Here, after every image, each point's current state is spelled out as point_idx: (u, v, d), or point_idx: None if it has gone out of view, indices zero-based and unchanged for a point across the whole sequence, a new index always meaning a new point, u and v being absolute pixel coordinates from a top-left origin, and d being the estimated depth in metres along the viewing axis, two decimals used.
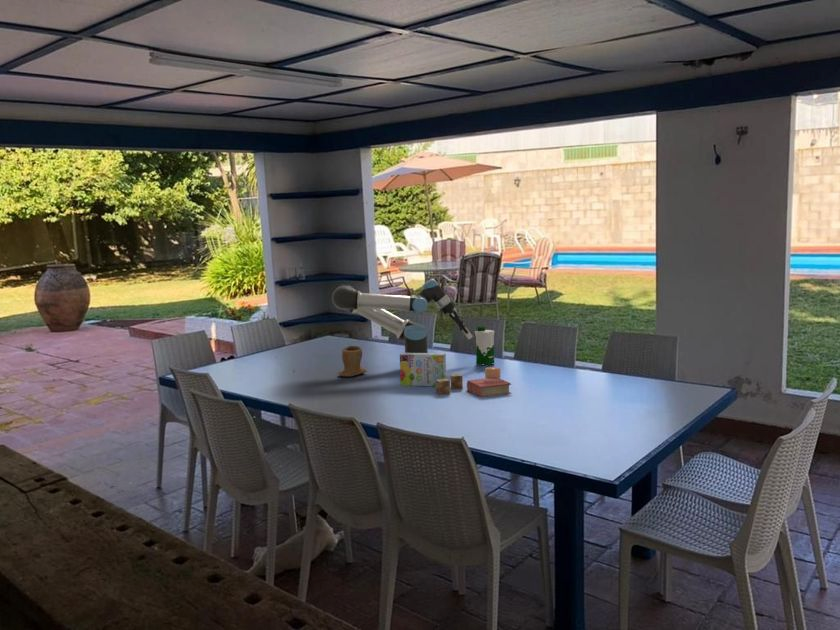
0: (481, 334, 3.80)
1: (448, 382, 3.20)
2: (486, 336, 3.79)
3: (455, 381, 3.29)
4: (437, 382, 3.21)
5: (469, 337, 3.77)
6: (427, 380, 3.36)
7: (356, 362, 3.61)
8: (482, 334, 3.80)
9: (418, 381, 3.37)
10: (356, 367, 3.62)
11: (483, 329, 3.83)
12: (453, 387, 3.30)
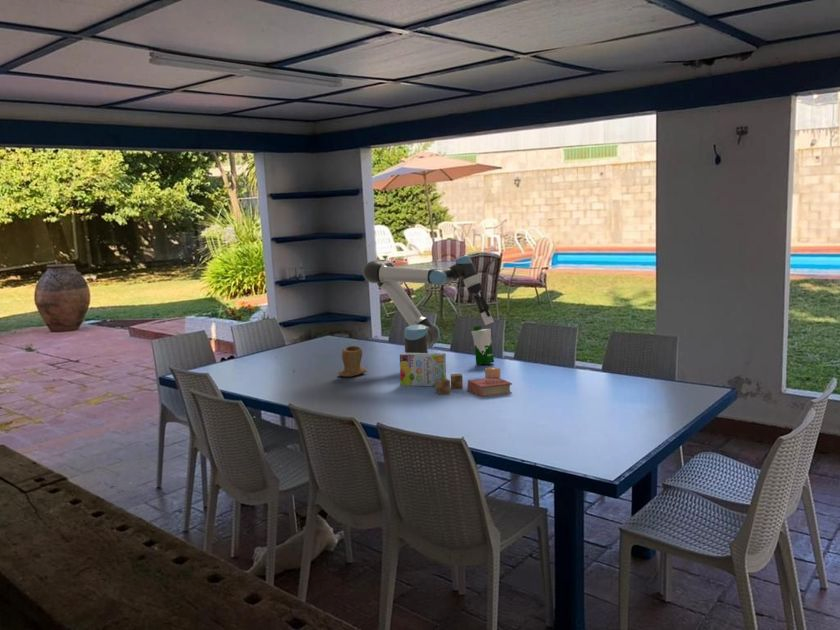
0: (478, 333, 3.81)
1: (448, 382, 3.20)
2: (483, 334, 3.80)
3: (455, 381, 3.29)
4: (437, 382, 3.21)
5: (490, 321, 3.60)
6: (427, 380, 3.36)
7: (356, 362, 3.61)
8: (478, 333, 3.81)
9: (418, 381, 3.37)
10: (356, 367, 3.62)
11: (479, 328, 3.84)
12: (453, 387, 3.30)
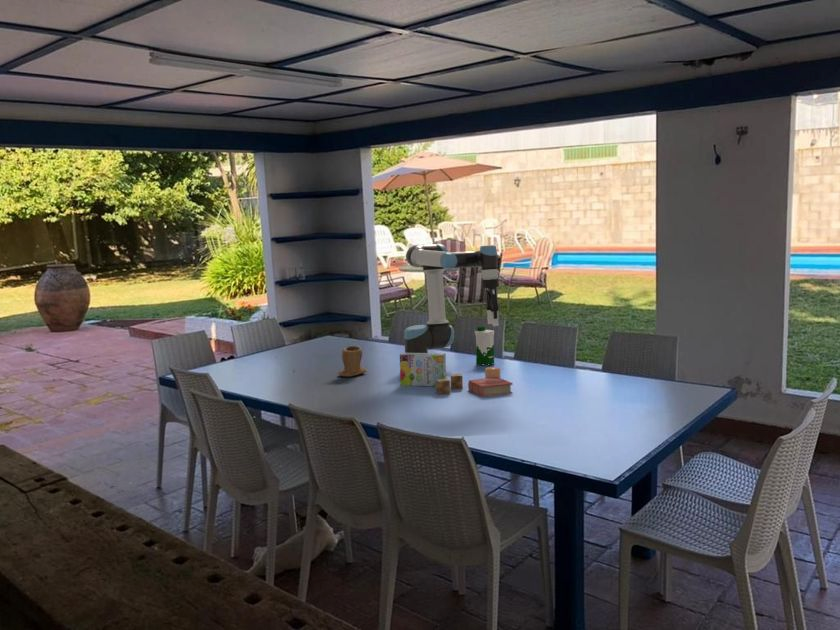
0: (481, 334, 3.80)
1: (448, 382, 3.20)
2: (486, 336, 3.79)
3: (455, 381, 3.29)
4: (437, 382, 3.21)
5: (494, 324, 3.26)
6: (427, 380, 3.36)
7: (356, 362, 3.61)
8: (482, 334, 3.80)
9: (418, 381, 3.37)
10: (356, 367, 3.62)
11: (483, 329, 3.83)
12: (453, 387, 3.30)
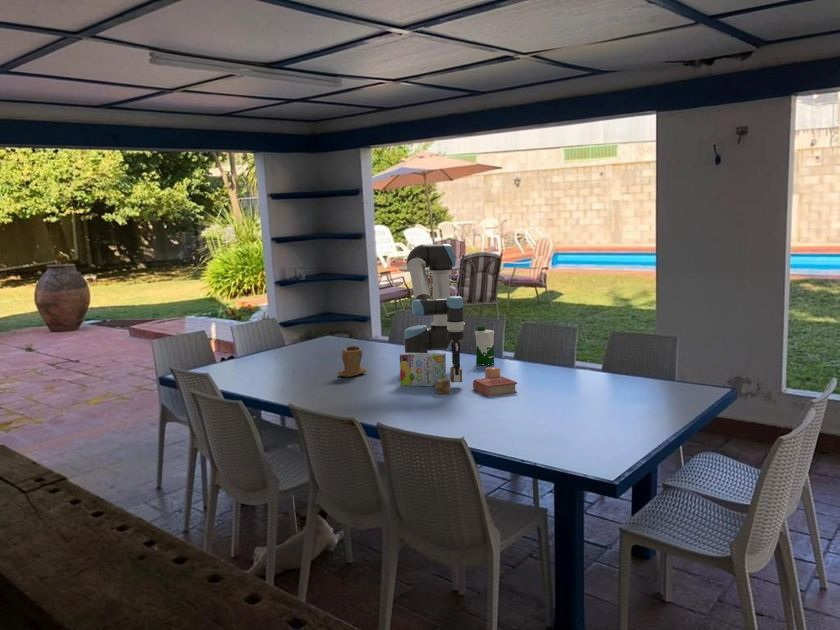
0: (481, 334, 3.80)
1: (448, 382, 3.20)
2: (486, 336, 3.79)
3: None
4: (437, 382, 3.21)
5: (455, 380, 3.29)
6: (427, 380, 3.36)
7: (356, 362, 3.61)
8: (482, 334, 3.80)
9: (418, 381, 3.37)
10: (356, 367, 3.62)
11: (483, 329, 3.83)
12: (453, 380, 3.30)
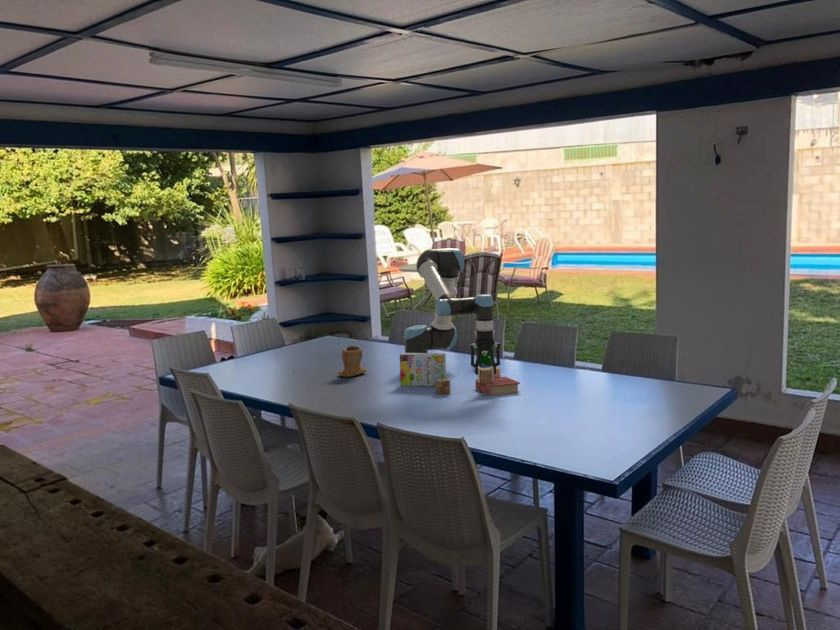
0: None
1: (448, 382, 3.20)
2: None
3: None
4: (437, 382, 3.21)
5: None
6: (427, 380, 3.36)
7: (356, 362, 3.61)
8: None
9: (418, 381, 3.37)
10: (356, 367, 3.62)
11: None
12: None
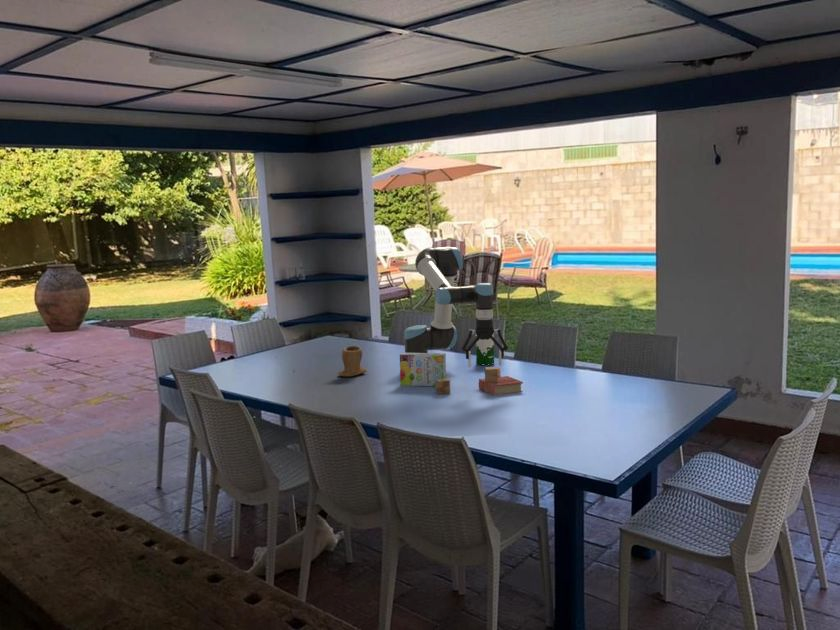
0: None
1: (448, 382, 3.20)
2: None
3: (485, 373, 3.23)
4: (437, 382, 3.21)
5: (468, 364, 3.21)
6: (427, 380, 3.36)
7: (356, 362, 3.61)
8: None
9: (418, 381, 3.37)
10: (356, 367, 3.62)
11: None
12: (485, 379, 3.24)
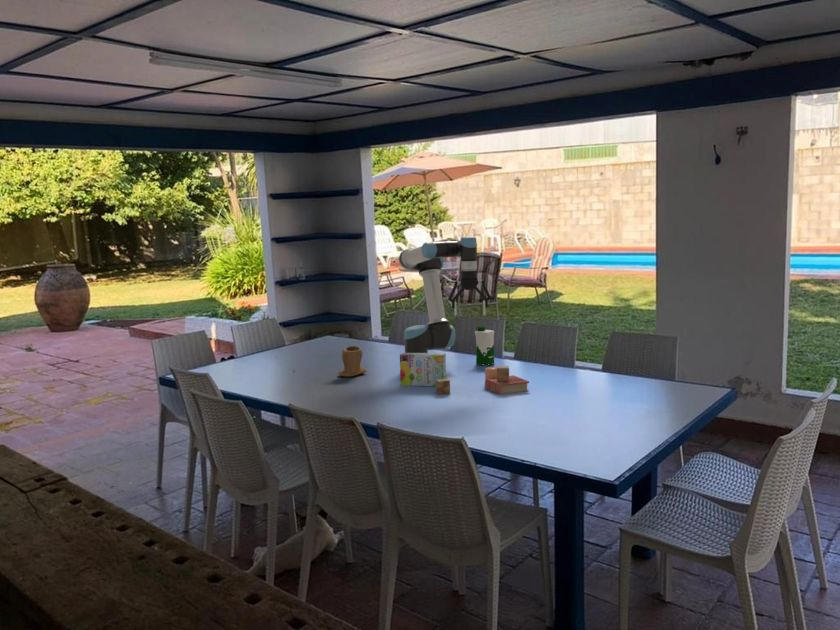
0: (481, 334, 3.80)
1: (448, 382, 3.20)
2: (486, 336, 3.79)
3: (497, 372, 3.25)
4: (437, 382, 3.21)
5: (454, 313, 3.41)
6: (427, 380, 3.36)
7: (356, 362, 3.61)
8: (482, 334, 3.80)
9: (418, 381, 3.37)
10: (356, 367, 3.62)
11: (483, 329, 3.83)
12: None
